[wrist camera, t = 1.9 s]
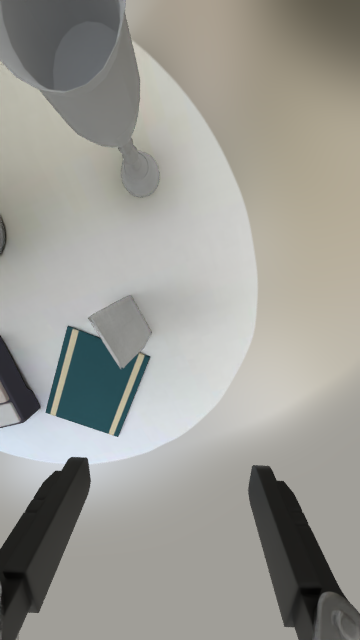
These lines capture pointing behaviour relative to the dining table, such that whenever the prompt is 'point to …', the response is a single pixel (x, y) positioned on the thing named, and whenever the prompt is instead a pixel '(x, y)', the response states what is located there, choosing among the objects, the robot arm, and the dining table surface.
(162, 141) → the dining table surface
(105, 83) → the chalice
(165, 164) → the dining table surface
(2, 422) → the calculator
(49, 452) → the dining table surface
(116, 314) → the white gable top carton
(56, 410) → the cloth
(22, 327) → the dining table surface
